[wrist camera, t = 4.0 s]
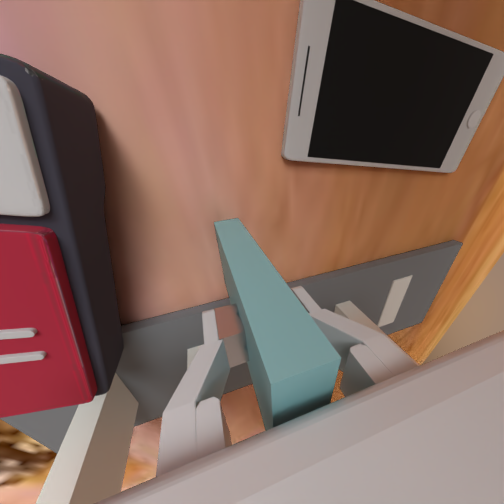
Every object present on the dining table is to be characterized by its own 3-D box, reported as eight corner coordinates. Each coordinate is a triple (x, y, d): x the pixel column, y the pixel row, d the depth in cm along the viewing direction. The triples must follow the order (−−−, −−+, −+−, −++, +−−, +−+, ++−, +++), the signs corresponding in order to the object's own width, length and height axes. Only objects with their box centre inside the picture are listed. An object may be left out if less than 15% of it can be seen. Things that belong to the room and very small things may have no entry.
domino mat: (-46, 368, 12) (-63, 383, 11) (454, 240, 20) (464, 243, 20) (63, 442, 18) (57, 455, 17) (415, 317, 26) (422, 322, 26)
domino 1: (118, 409, 16) (43, 684, 8) (90, 378, 14) (-61, 724, 6) (138, 402, 17) (87, 658, 8) (114, 371, 14) (6, 687, 6)
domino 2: (225, 283, 15) (275, 466, 6) (213, 222, 12) (271, 384, 4) (245, 278, 15) (319, 445, 6) (238, 218, 13) (341, 358, 4)
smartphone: (443, 172, 16) (456, 173, 15) (277, 159, 12) (284, 160, 11) (496, 60, 13) (516, 54, 12) (297, -13, 9) (308, -29, 8)
